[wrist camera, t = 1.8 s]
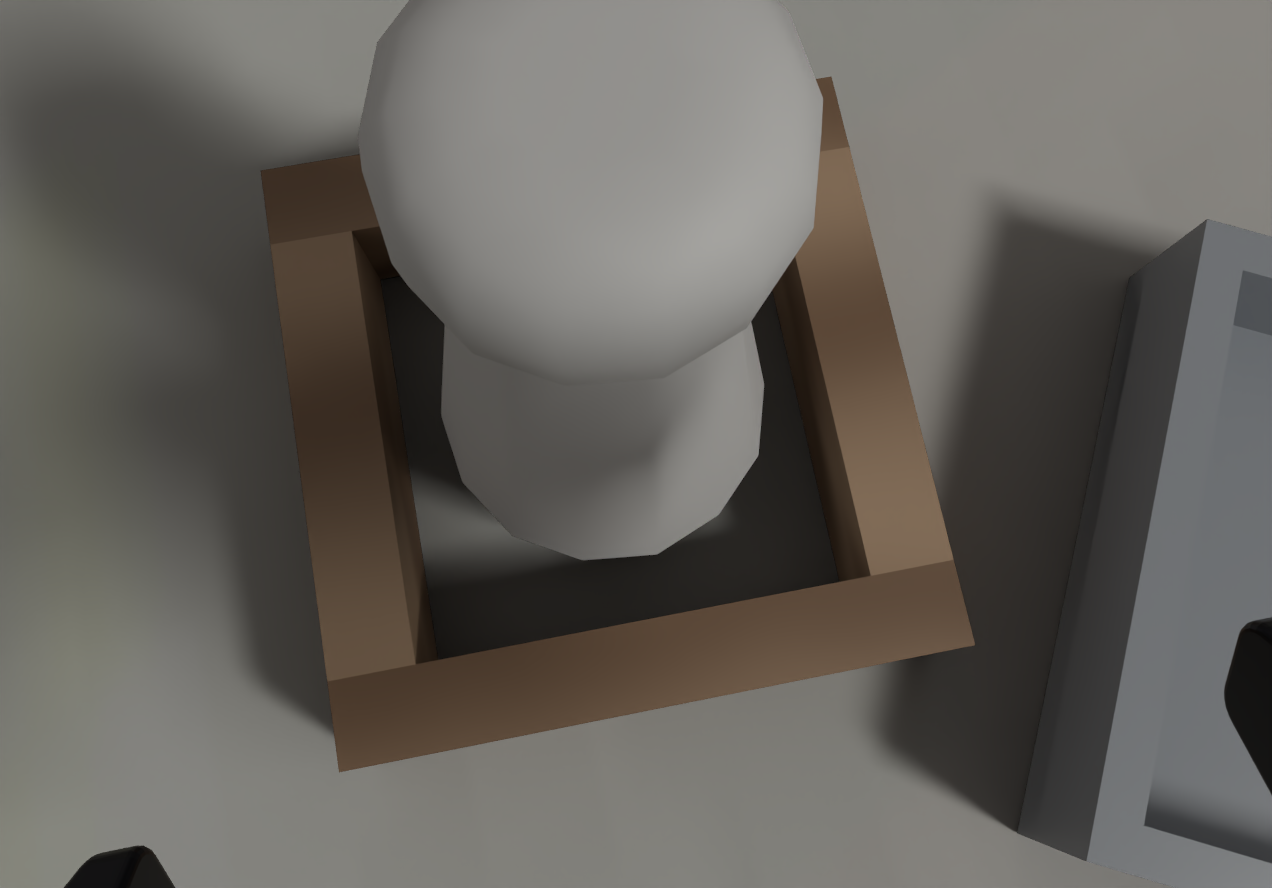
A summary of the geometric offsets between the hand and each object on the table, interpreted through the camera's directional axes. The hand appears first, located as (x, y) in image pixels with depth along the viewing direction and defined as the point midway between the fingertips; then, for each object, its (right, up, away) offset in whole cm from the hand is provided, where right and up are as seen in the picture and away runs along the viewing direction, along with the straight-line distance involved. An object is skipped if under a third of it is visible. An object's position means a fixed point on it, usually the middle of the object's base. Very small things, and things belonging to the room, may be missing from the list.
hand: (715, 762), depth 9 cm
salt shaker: (-1, +3, +13) cm, 13 cm away
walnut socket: (-1, +3, +13) cm, 13 cm away
